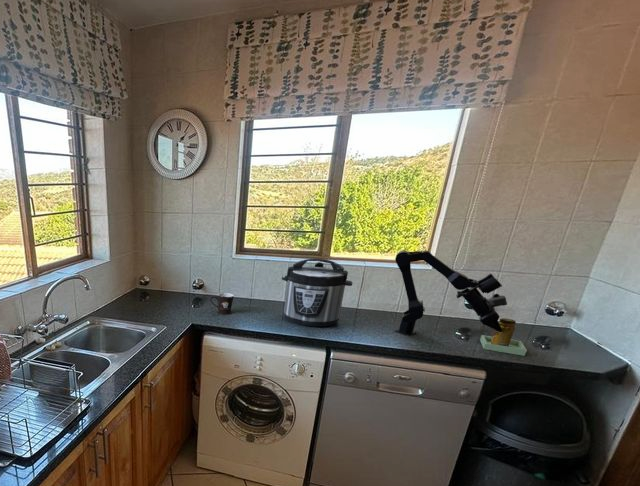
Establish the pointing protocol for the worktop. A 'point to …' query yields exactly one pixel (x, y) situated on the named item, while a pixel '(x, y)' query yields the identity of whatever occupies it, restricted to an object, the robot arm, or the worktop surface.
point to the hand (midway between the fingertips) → (499, 328)
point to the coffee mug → (224, 302)
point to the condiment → (504, 333)
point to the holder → (517, 345)
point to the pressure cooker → (315, 293)
